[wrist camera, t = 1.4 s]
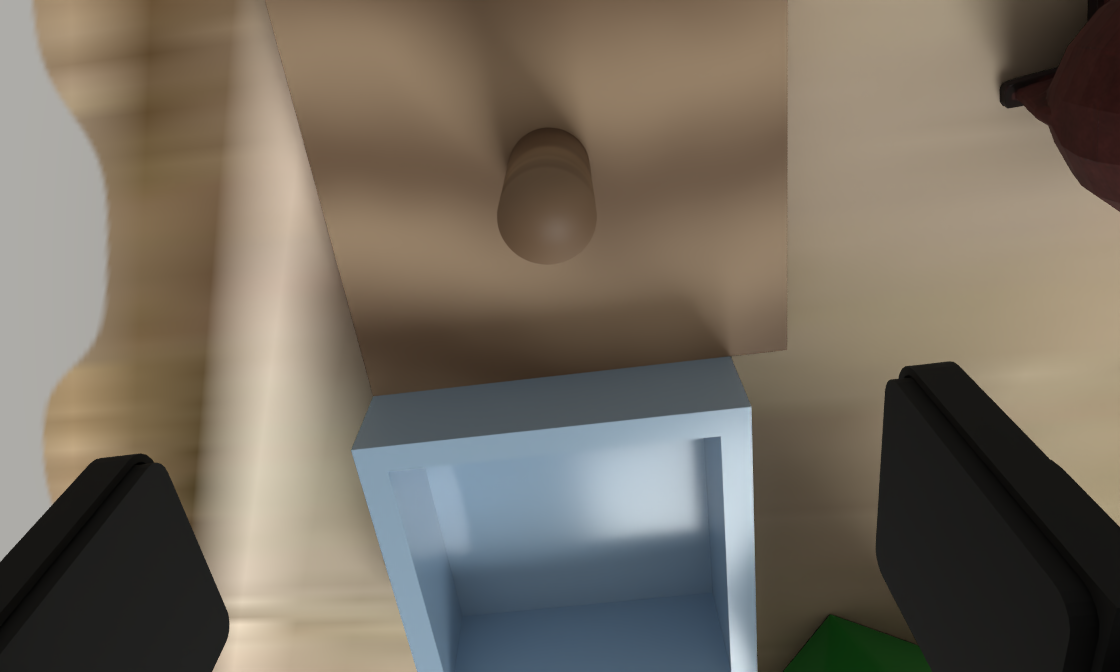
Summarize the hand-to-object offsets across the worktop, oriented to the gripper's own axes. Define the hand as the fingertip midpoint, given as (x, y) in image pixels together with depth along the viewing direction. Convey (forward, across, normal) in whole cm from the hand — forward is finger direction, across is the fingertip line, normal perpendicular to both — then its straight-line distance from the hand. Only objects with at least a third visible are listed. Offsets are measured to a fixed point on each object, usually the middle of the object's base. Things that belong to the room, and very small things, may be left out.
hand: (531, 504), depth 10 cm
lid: (+17, 0, 0) cm, 17 cm away
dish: (+18, +1, +14) cm, 23 cm away
